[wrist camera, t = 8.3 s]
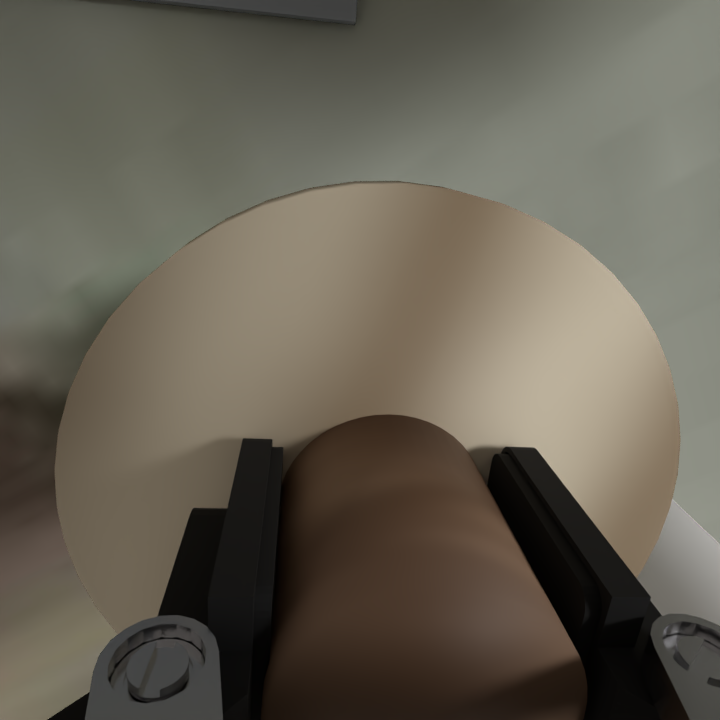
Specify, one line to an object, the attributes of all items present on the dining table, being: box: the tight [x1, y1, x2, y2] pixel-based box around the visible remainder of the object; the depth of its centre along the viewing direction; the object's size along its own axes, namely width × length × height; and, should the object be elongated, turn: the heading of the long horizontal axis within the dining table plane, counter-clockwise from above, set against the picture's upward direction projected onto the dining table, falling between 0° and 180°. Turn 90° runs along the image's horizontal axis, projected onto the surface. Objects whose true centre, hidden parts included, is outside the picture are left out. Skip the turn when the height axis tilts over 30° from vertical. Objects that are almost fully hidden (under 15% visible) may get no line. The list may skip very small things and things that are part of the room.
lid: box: [54, 181, 680, 720], centre depth 9 cm, size 12×12×6 cm
